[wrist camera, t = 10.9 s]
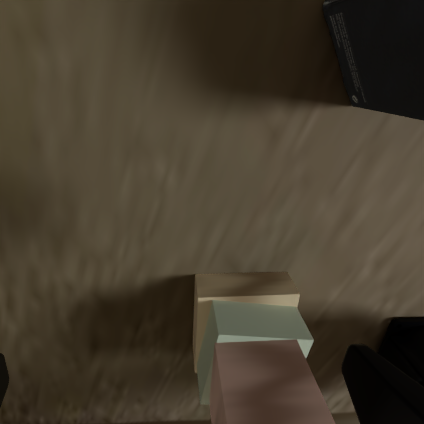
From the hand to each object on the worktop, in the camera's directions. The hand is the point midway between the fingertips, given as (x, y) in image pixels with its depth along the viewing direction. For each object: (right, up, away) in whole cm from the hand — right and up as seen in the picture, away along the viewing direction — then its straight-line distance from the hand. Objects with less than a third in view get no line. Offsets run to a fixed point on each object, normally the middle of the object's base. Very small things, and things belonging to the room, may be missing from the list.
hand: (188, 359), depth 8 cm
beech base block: (+3, -4, +17) cm, 17 cm away
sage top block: (+3, -5, +14) cm, 15 cm away
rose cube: (+3, -6, +11) cm, 13 cm away
